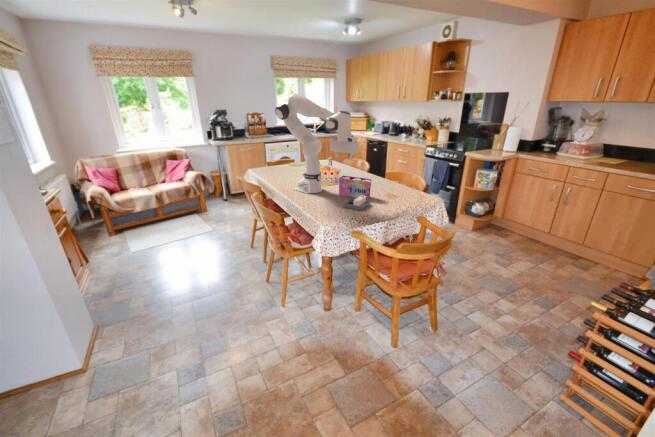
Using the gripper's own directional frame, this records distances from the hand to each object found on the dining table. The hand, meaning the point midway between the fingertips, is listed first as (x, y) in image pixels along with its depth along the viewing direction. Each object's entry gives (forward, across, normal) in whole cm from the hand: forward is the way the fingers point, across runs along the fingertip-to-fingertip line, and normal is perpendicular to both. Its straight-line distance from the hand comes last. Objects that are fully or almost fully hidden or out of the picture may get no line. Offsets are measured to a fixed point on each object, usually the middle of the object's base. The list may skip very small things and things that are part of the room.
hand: (343, 159), depth 196 cm
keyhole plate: (+31, +11, 0) cm, 33 cm away
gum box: (+31, 0, +18) cm, 36 cm away
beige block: (+31, +13, 0) cm, 33 cm away
